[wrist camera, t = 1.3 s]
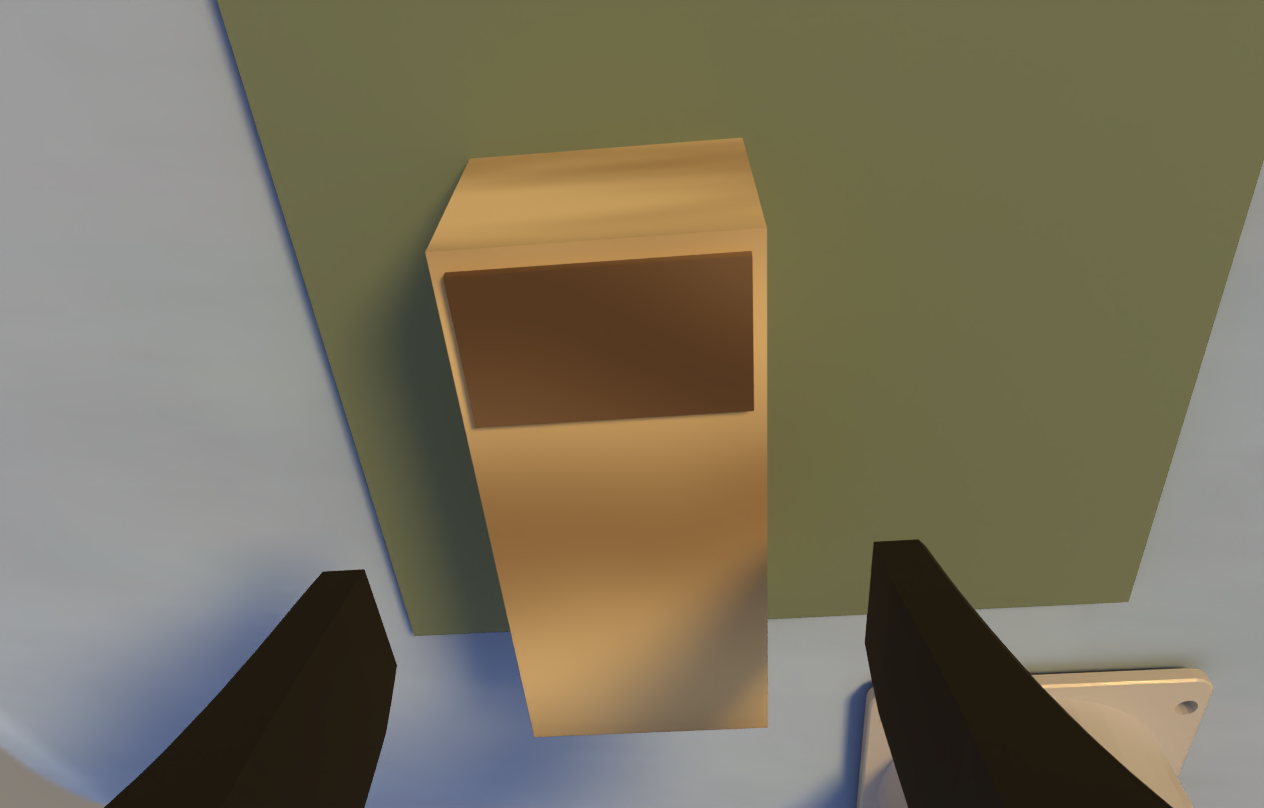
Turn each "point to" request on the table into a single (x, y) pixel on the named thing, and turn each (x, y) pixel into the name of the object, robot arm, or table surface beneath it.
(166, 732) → the table surface
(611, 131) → the rubber mat
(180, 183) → the table surface
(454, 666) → the table surface
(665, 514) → the wooden cubby box
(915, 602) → the robot arm
